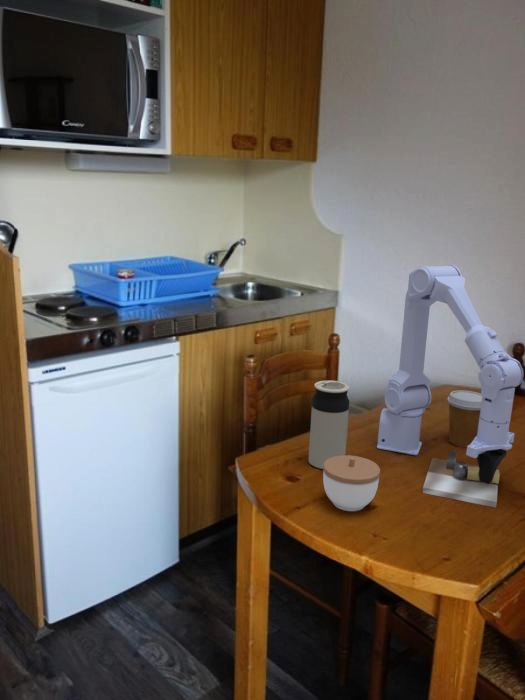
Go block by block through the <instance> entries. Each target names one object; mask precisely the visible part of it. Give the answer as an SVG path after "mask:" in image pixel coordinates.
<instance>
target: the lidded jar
mask: <svg viewBox="0 0 525 700" xmlns="http://www.w3.org/2000/svg"><path fill="white" fill-rule="evenodd" d="M322 470H323V473H322V481H323V487H324V492H325V494H326V496H327V497H328V499H329V500H330V501H331V503H332V505H334V506H335V507H336V508H337V509H338V510H342V511H346V512H358V511H361V510H363V509H364V508H365V507H366V506H368V505H369V504H370V503H371V501H373V499H374V498H375V495H376V493H377V491H378V487H379V481H380V476H381V468H380V467H379V465H378V464H377V463H376V462H374V461H373V460H371V459H368V458H365V457H362V456H357V455H351V454H349V455H347V454H345V455H341V456H334V457H331V458H329V459H327V460H326V461H325V462H324V464H323V469H322Z"/></svg>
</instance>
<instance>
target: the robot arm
mask: <svg viewBox="0 0 525 700" xmlns="http://www.w3.org/2000/svg"><path fill="white" fill-rule="evenodd" d="M465 286H466V278H465V277H464V276H463V275H462V272H461V270H460V268H458V266H456V265H453V264H449V265H437V266H436V265H434V266H433V265H432V266H426V265H420V266H417V267H416V268H415V269H413V271H411V272H410V273H409V275H408V285H407V291H406V294H405V298H404V299H405V300H404V308H403V309H404V313H403V321H402V332H401V343H400V344H401V345H400V356H399V368H398V370H397V372H396V373H395V374H394V375H392V376H391V377H390V378H389V379H388V384H387V388H386V389H385V392H384V403H385V406H386V407H385V408H384V407H383V408H382V410H381V413H380V416H379V417H380V419H379V424H378V425H379V426H378V435H377V444H376V445H377V446H376V449H380V450H385V451H389V452H397V453H401V454H407V455H412V456H418V455H419V453H420V450H421V448H422V445H423V444H422V443H423V442H422V441H420V437H421V426H422V419H423V418H422V417H423V413H425V411H426V408H428V407H429V406H430V404H431V402H432V392H431V387H430V386H431V385H430V383H431V380H430V379H429V377H427V375H426V374H425V373H424V368H425V357H426V350H427V341H428V340H427V339H428V337H427V336H428V327H429V319H430V317H429V316H430V309H431V306H432V305H433V304H435V303H436V302H440V303H444V304H446V305H447V306H448V308H449V309H450V310H451V312H452V314H453V315H454V316H455V318H456V319H457V321H458V322H459V323H460V326H462V328H463V330H464V331H465V333H466V335H465V339H464V343H465V344H466V347H467V348H468V350H469V352H470V353H471V355H472V357H473V359H474V360H475V362H476V364H477V366H478V367H479V369H480V371H478V381H479V383H480V387H481V391H480V394H482V403H481V410H480V417H479V424H478V432H477V436H476V437H475V439H474V440H473V441H472V443H471V444H470V445H468V446H467V447H466V453H465V455H466V456H468V457H471V458H472V459H473V458H474V459H476V462H477V466H479V480H480V481H482V482H484V483H487V484H490V483H491V482H492V480H493V477H494V474H495V471H496V469H497V470H498V468H499V465H500V464H501V462H502V461H503V460H504V458H505V457H506V456H507V451H509V450H511V449H512V448H513V445H512V443H514V440H515V433H514V432H510V431H509V430H510V423H511V417H512V411H513V405H514V398H515V390H516V388H517V387H519V385H520V384H522V382H523V379H524V368H523V367H522V364H521V362H520V361H519V360H517V359H516V358H513V357H511V356H510V354H508V353H507V352H506V350H505V348H504V347H503V346H502V344H501V342H500V341H499V339H498V337H497V336H498V334H497V332H496V331H495V330H493V328H491V327H489V326H486V325H483V323H482V322H481V319H480V317H479V315H478V313H477V311H476V308H475V307H474V305H473V303H472V301H471V298H470V297H469V294H468V292H467V290H466V289H465Z"/></svg>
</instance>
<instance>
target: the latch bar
mask: <svg viewBox="0 0 525 700" xmlns="http://www.w3.org/2000/svg"><path fill="white" fill-rule="evenodd" d="M469 465H470V464H469ZM469 465H468V463H467V462H463V461H456V462H455V464H454V471H453V476H454V477H456V478H458V479H466V478H467V479H469V480H476V481H480V480H479V467H471V466H469ZM500 476H501V474H500V470H499V469H497V470H496V471H495V474H494V477H493V480H492V482H491V483H498V485H499V484H500V483H499V482H500Z"/></svg>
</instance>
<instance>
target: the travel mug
mask: <svg viewBox="0 0 525 700" xmlns="http://www.w3.org/2000/svg"><path fill="white" fill-rule="evenodd" d="M313 385H314V386H313V387H314V389H315V394H314V395H313V396H312V400H311V413H310V414H311V415H310V428H309V429H310V430H309V432H310V433H309V442H308V443H309V445H308V447H309V448H308V463H309V465H312V466H313V467H315V468H317V469H321V470H323V464H324V462H325V461H326V460H327V459H329V458H331V457H334V456H341V455H346V450H347V449H346V448H347V437H348V426H349V425H348V424H349V414H350V413H349V411H350V399H349V397H348V391H349V390H350V386H349V385H348V384H347V383H345V382H341V381H339V380H331V379H330V380H329V379H328V380H320V381H317V382H315V383H314V384H313Z"/></svg>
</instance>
